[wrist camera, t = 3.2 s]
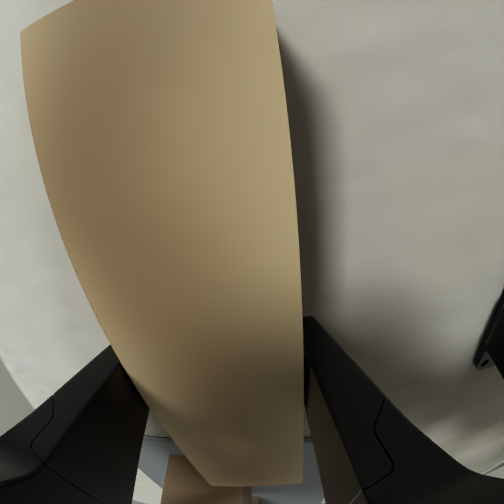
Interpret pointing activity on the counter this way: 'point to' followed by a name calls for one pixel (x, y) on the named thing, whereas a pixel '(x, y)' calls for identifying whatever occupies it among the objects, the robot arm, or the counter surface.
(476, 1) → the counter surface
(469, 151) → the counter surface
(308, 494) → the mat
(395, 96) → the counter surface
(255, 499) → the block
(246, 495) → the block
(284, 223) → the plank
